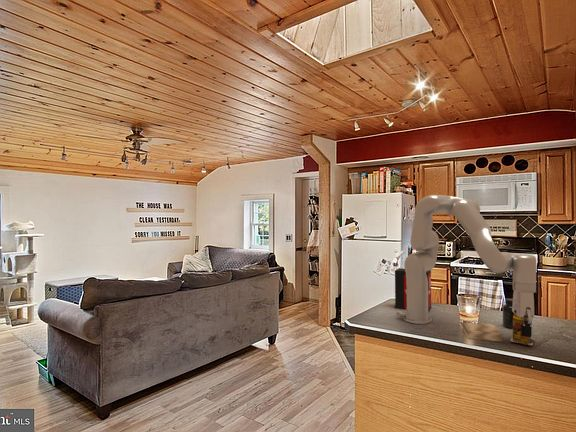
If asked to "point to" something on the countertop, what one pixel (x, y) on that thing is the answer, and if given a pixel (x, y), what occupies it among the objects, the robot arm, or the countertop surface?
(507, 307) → the supplement bottle
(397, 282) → the cleaning product box
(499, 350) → the countertop surface
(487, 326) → the base slab
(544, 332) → the countertop surface
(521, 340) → the condiment
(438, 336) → the countertop surface
